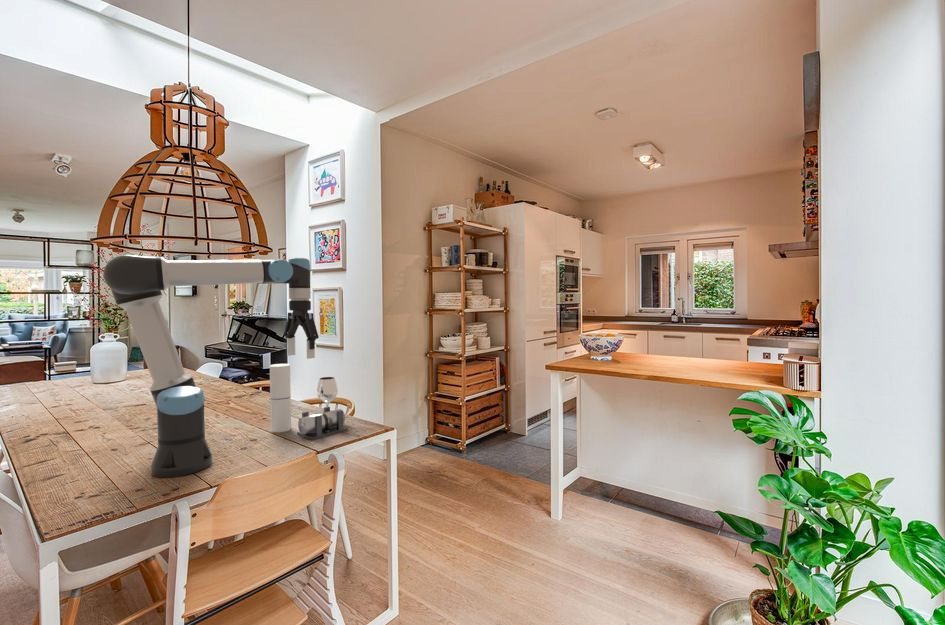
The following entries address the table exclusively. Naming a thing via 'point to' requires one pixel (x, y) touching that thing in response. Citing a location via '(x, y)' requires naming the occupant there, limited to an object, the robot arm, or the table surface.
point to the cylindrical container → (280, 397)
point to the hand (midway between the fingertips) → (300, 356)
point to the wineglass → (327, 389)
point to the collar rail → (328, 431)
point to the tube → (328, 421)
